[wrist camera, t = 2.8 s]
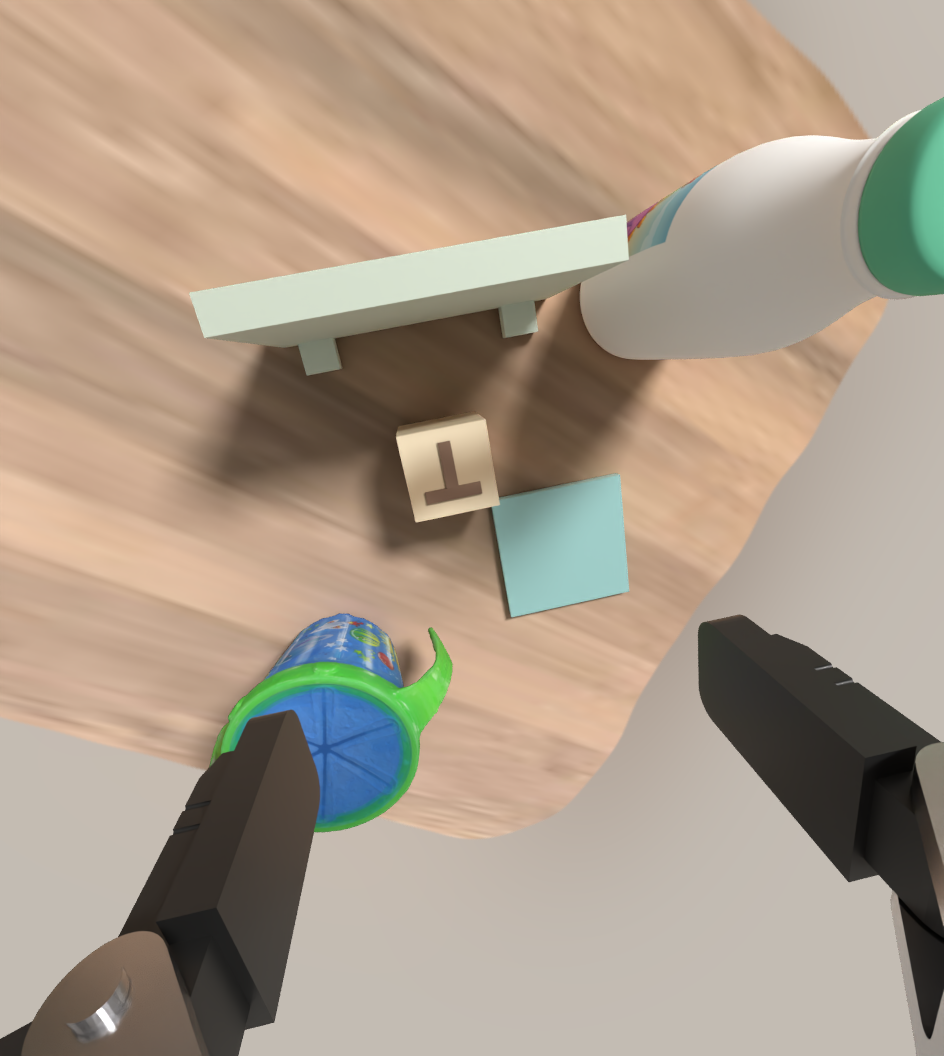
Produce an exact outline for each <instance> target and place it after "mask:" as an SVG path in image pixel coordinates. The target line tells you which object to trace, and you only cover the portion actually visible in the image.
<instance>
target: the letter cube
mask: <svg viewBox="0 0 944 1056" xmlns="http://www.w3.org/2000/svg"><path fill="white" fill-rule="evenodd" d="M396 440H397V444H398V448H399V453H400V457H401V461H402V466H403V470H404V474H405V479H406V483H407V487H408V492H409V496H410V500H411V504H412V509H413V513H414V517H415V522H421V521H426V520H431V519H435V518H440V517H445V516H450V515H454V514H459V513H464V512H469V511H474V510H478V509H483V508H488V507H493V506H498V505H500V502H499V496H498V491H497V485H496V479H495V473H494V467H493V461H492V455H491V449H490V443H489V437H488V431H487V425H486V419H484V418H483V417H482V416H480V415H479V414H478V413H476V412H475V411H473V412H468V413H463V414H458V415H453V416H447V417H442V418H437V419H432V420H427V421H422V422H417V423H412V424H407V425H402V426H398V429H397V434H396Z"/></svg>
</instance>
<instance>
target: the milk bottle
mask: <svg viewBox="0 0 944 1056" xmlns="http://www.w3.org/2000/svg"><path fill="white" fill-rule="evenodd" d="M627 238H628V254H629V260H628V261H625V262H623V263H621V264H619V265H617V266H615V267H613V268H611V269H609V270H606V271H604V272H602V273H600V274H598V275H596V276H594V277H592V278H590V279H587V280H585V281H583V282H581V287H580V307H581V313H582V317H583V320H584V323H585V325H586V328H587V330H588V332H589V333H590V335H591V336H592V338H593V339H594V340H595V342H596V343H597V344H598V345H599V346H600V347H602V348H603V349H604V350H606V351H607V352H609V353H611V354H613V355H615V356H618V357H621V358H625V359H635V360H664V359H704V358H725V357H737V356H748V355H756V354H761V353H765V352H770V351H774V350H778V349H781V348H784V347H787V346H789V345H792V344H795V343H797V342H800V341H802V340H804V339H806V338H808V337H810V336H812V335H814V334H816V333H818V332H820V331H821V330H823V329H824V328H826V327H827V326H829V325H830V324H832V323H833V322H835V321H837V320H838V319H839V318H841V317H842V316H844V315H845V314H846V313H848V312H849V311H850V310H852V309H853V308H855V307H856V306H858V305H860V304H861V303H863V302H865V301H867V300H869V299H871V298H874V297H876V296H878V297H881V298H885V299H907V298H912V297H915V296H926V295H937V294H944V97H943V98H941V99H939V100H938V101H936V102H934V103H932V104H930V105H928V106H927V107H925V108H924V109H922V110H919V111H916V112H913V113H911V114H909V115H907V116H905V117H903V118H901V119H900V120H898V121H897V122H895V123H894V124H892V125H891V126H890V127H889V128H888V129H886V130H885V131H884V132H883V133H882V134H881V135H880V136H879V137H878V138H875V139H867V140H851V139H844V138H837V137H829V136H816V135H811V136H797V137H789V138H784V139H779V140H775V141H771V142H768V143H764V144H761V145H759V146H756V147H754V148H751V149H749V150H746V151H744V152H742V153H739V154H737V155H735V156H733V157H732V158H730V159H728V160H726V161H724V162H723V163H721V164H719V165H717V166H715V167H714V168H712V169H710V170H708V171H707V172H705V173H703V174H701V175H700V176H698V177H697V178H695V179H693V180H692V181H690V182H689V183H687V184H685V185H684V186H682V187H681V188H679V189H677V190H676V191H674V192H673V193H671V194H669V195H668V196H666V197H665V198H663V199H662V200H660V201H659V202H657V203H655V204H654V205H652V206H651V207H649V208H648V209H646V210H645V211H643V212H642V213H640V214H639V215H637V216H636V217H634V218H632V219H631V220H629V221H628V222H627Z"/></svg>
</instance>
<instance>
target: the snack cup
mask: <svg viewBox="0 0 944 1056" xmlns="http://www.w3.org/2000/svg"><path fill="white" fill-rule="evenodd" d="M428 632H429V634H430V638H431V640H432V643H433V647H434V650H435V652H436V660H435V663H434V665H433V666H432V667H431V668H430V669H429V670H428V671H427V672H426V673H425V674H424V675H423V676H422V677H421V678H420V679H419V680H418V681H417V682H416V683H414V684H412V685H410V686H408V687H404V685H403V681H402V676H401V672H400V667H399V663H398V659H397V655H396V651H395V648H394V646H393V644H392V642H391V639H390V638H389V636H388V635H387V634H386V633H384V632H383V631H382V630H381V629H379V628H378V627H377V626H376V625H374V624H373V623H371V622H369V621H367V620H366V619H364V618H357V617H354V616H352V615H350V614H337V615H335V616H332V617H328V618H323V619H321V620H319V621H317V622H315V623H313V624H311V625H310V626H309V627H307V628H306V629H304V630H302V631H301V632H300V633H299V635H298V636H297V637H296V638H295V640H294V641H293V643H292V644H291V645H290V646H289V647H288V648H287V650H286V651H285V652H284V654H283V655H282V656H281V658H280V659H279V660H278V661H277V663H276V664H275V666H274V667H273V668H272V670H271V671H270V672H269V674H268V675H267V676H266V678H265V679H264V681H262V682H261V683H259V684H258V685H257V686H256V687H255V688H254V689H252V690H251V691H250V692H249V693H248V694H247V695H246V696H244V697H243V698H242V699H240V700H239V701H238V703H237V704H236V705H235V707H234V708H233V710H232V711H231V713H230V714H229V716H228V719H229V723H227V724H226V725H225V726H224V727H223V728H222V730H221V731H220V733H219V735H218V737H217V741H216V744H215V747H214V750H213V754H212V758H211V762H210V766H211V765H212V764H213V763H214V762H215V761H216V760H217V759H218V757H219V756H220V755H221V754H222V753H225V752H230V751H234V750H235V747H236V745H237V743H238V741H239V739H240V736H241V734H242V732H243V730H244V728H245V726H246V724H247V722H248V721H249V719H251V718H254V717H258V716H263V715H268V714H272V713H277V712H282V711H286V710H294V711H295V712H296V714H297V716H298V718H299V720H300V723H301V726H302V729H303V732H304V735H305V737H306V740H307V743H308V746H309V749H310V752H311V755H312V757H313V760H314V763H315V766H316V769H317V772H318V777H319V784H320V804H319V810H318V815H317V819H316V824H315V829H314V832H330V831H338V830H343V829H348V828H352V827H355V826H358V825H360V824H363V823H366V822H367V821H370V820H372V819H374V818H375V817H377V816H379V815H381V814H382V813H384V812H385V811H387V810H388V809H389V808H390V807H392V806H393V805H394V804H395V803H396V802H397V801H398V800H399V799H400V798H401V797H402V795H403V794H404V793H405V792H406V791H407V790H408V788H409V787H410V785H411V782H412V780H413V778H414V776H415V773H416V770H417V766H418V761H419V751H420V740H419V738H420V734H421V732H422V730H423V729H424V727H425V726H426V725H427V723H428V722H429V721H430V720H431V718H432V717H433V716H434V714H435V713H437V711H438V708H439V706H440V704H441V703H442V701H443V699H444V697H445V695H446V692H447V689H448V686H449V684H450V680H451V675H452V662H451V659H450V657H449V655H448V653H447V651H446V649H445V648H444V646H443V644H442V642H441V640H440V639H439V637H438V636H437V634H436V632H435V631H434V630H433V628H429V629H428ZM210 766H209V767H210Z"/></svg>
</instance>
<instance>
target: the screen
mask: <svg viewBox="0 0 944 1056" xmlns="http://www.w3.org/2000/svg"><path fill="white" fill-rule="evenodd" d="M628 260H629V254H628V238H627V222H626V215H622V216H617V217H611V218H605V219H600V220H594V221H589V222H583V223H577V224H572V225H566V226H561V227H555V228H549V229H544V230H538V231H532V232H527V233H521V234H516V235H510V236H504V237H499V238H493V239H488V240H482V241H476V242H471V243H465V244H460V245H454V246H448V247H443V248H437V249H432V250H426V251H420V252H415V253H409V254H404V255H398V256H392V257H387V258H381V259H376V260H370V261H364V262H359V263H353V264H348V265H342V266H336V267H331V268H325V269H320V270H314V271H308V272H303V273H297V274H292V275H286V276H280V277H275V278H269V279H264V280H258V281H252V282H247V283H241V284H236V285H230V286H224V287H219V288H213V289H208V290H202V291H196V292H191V293H189V294H190V297H191V300H192V303H193V306H194V309H195V312H196V315H197V318H198V320H199V323H200V326H201V329H202V332H203V335H204V338H210V339H218V340H226V341H234V342H242V343H250V344H258V345H266V346H274V347H282V348H287V347H292V346H297V345H298V347H299V350H300V354H301V357H302V361H303V365H304V368H305V372H306V375H313V374H318V373H324V372H329V371H334V370H339V369H343V368H342V365H341V361H340V357H339V353H338V349H337V345H336V341H335V338H340V337H346V336H351V335H356V334H362V333H367V332H372V331H378V330H383V329H388V328H394V327H399V326H405V325H410V324H415V323H421V322H426V321H431V320H437V319H442V318H447V317H453V316H458V315H464V314H469V313H474V312H480V311H485V310H490V309H496V308H498V309H499V316H500V323H501V330H502V336H503V338H508V337H513V336H518V335H524V334H529V333H534V332H538V327H537V318H536V310H535V302H534V301H539V300H544V299H547V298H550V297H552V296H554V295H556V294H558V293H560V292H562V291H564V290H566V289H569V288H571V287H573V286H575V285H577V284H579V283H581V282H583V281H585V280H587V279H590V278H592V277H594V276H596V275H598V274H600V273H602V272H604V271H606V270H609V269H611V268H613V267H615V266H617V265H619V264H621V263H623V262H625V261H628Z"/></svg>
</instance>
